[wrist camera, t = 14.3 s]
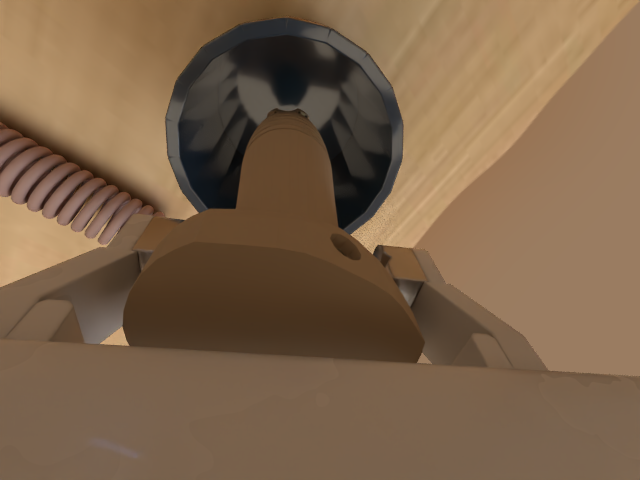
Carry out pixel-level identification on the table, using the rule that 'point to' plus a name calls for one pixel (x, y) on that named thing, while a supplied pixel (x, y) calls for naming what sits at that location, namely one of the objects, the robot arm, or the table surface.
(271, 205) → the handle
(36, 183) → the coil
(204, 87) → the open cylindrical bucket
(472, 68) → the table surface
